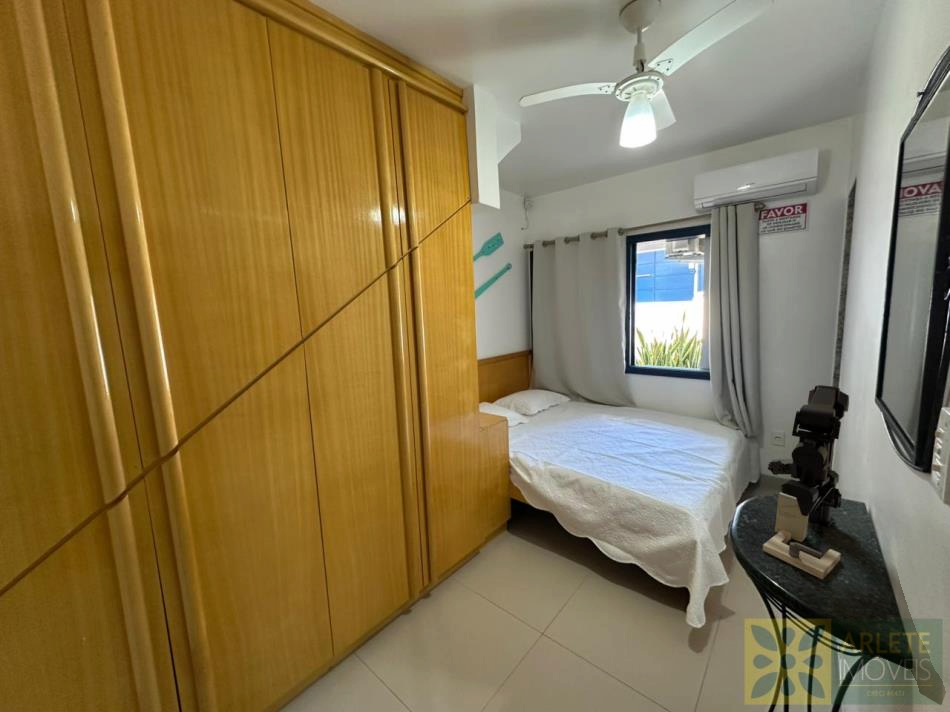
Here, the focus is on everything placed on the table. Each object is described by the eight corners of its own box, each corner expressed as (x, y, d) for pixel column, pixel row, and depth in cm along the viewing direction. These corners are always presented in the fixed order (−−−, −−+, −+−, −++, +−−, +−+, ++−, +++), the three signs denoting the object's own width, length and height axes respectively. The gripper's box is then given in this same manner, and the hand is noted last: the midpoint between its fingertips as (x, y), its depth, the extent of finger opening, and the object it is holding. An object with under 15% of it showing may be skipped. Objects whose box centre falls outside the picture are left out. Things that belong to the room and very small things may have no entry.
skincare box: (774, 531, 103) (777, 493, 102) (779, 526, 106) (782, 488, 104) (802, 543, 98) (806, 502, 97) (807, 536, 101) (811, 497, 99)
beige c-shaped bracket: (781, 535, 102) (783, 517, 101) (839, 560, 91) (842, 540, 90) (762, 551, 96) (764, 532, 95) (822, 579, 85) (824, 558, 85)
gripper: (788, 439, 103) (784, 489, 105) (758, 454, 93) (755, 509, 96) (842, 451, 93) (836, 506, 95) (814, 470, 84) (809, 531, 86)
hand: (807, 512), depth 93 cm, fingers open, 4 cm apart
